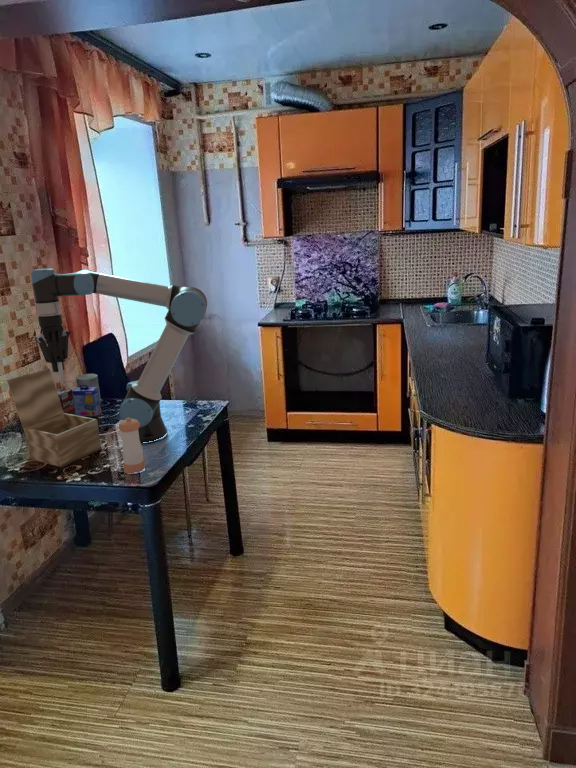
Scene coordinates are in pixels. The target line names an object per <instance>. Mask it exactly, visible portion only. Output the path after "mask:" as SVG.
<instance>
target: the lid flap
mask: <svg viewBox="0 0 576 768" xmlns="http://www.w3.org/2000/svg"><path fill="white" fill-rule="evenodd" d="M6 381H7V385H8V388H9V391H10V394H11V396H12V399H13V403H14V406H15V409H16V412H17V414H18V415H17V416H18V417H19V421H20V423H21V426H22V427H21V428H25V427H28V426H31V425H33V424H36V423H39V422H42V421H44V420H47V419H50V418H52V417H55V416H56V415H59V414H62V413H64V412H63V409H62V406H61V403H60V400H59V397H58V393H57V392H58V391H57V388H56V384H55V382H54V378H53V375H52V372H51V369H50V368H46V369H41V370H37V371H35V372H31V373H26V374H24V375H21V376H17V377H13V378H10V379H7V380H6Z"/></svg>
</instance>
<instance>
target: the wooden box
mask: <svg viewBox="0 0 576 768" xmlns="http://www.w3.org/2000/svg"><path fill="white" fill-rule="evenodd" d="M22 428H23V427H22ZM23 432H24V437H25V438H24V440H25V444H26V451H27V455H28V459H29V460H32V459H33V461H37V462H41V463H44V464H48V465H51V466H57V467H59V468H63V467H66V466H67V465H70V464H72V463H74V462H77V461H79V460H81V459H83V458H85V457H87V456H90V455H92V454H93V453H96V452H98V451H101V450H102V446H101V445H102V444H101V439H100V437H101V436H100V431H99V423H98V419H97V418H92V417H89V416H77V415H72V414H67V413H63V414H60V415H58V416H54V417H51V418H48V419H45V420H43V421H40V422H37V423H35V424H32V425H29V426H27V427H24V428H23Z"/></svg>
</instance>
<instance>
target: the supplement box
mask: <svg viewBox="0 0 576 768" xmlns="http://www.w3.org/2000/svg"><path fill="white" fill-rule="evenodd" d="M57 393H58V397H59V400H60V403H61V406H62V409H63V412H64V413H67V414H72V415H76V410H75V404H74V398H73V389H68V388H62V389H61V390H58V391H57ZM62 414H63V413H62ZM59 415H60V414H59ZM56 416H58V415H56Z"/></svg>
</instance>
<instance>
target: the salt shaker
mask: <svg viewBox="0 0 576 768" xmlns="http://www.w3.org/2000/svg"><path fill="white" fill-rule="evenodd" d="M139 427H140V423H139V421H138V420H136V419H131V418H127V419H126V420H123V421H122V420H121V421H120V422H119V423H118V430H119V431H120V432H121V437H122V457H123V459H122V460H123V462H122V465H123V473H124V472H126V473H134V472H139V471H142V470H143V469H144V468H145V467H146V462H145V461H146V459H145V458H144V451H143V447H142V444H141V443H140V440H139V432H138V429H139Z"/></svg>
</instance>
